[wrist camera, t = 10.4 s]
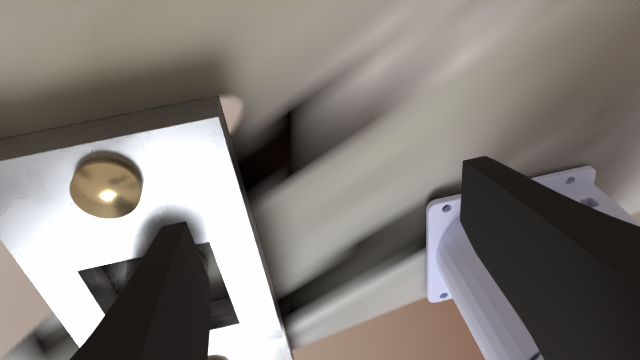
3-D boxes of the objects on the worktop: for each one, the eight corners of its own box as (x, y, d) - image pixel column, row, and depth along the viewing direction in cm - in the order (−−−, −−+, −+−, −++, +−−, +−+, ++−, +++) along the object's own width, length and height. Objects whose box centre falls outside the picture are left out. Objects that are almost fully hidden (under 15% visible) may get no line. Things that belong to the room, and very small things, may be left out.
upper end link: (218, 95, 19) (218, 122, 17) (279, 309, 28) (284, 345, 25) (-26, 144, 19) (-56, 178, 17) (111, 349, 27) (101, 388, 25)
